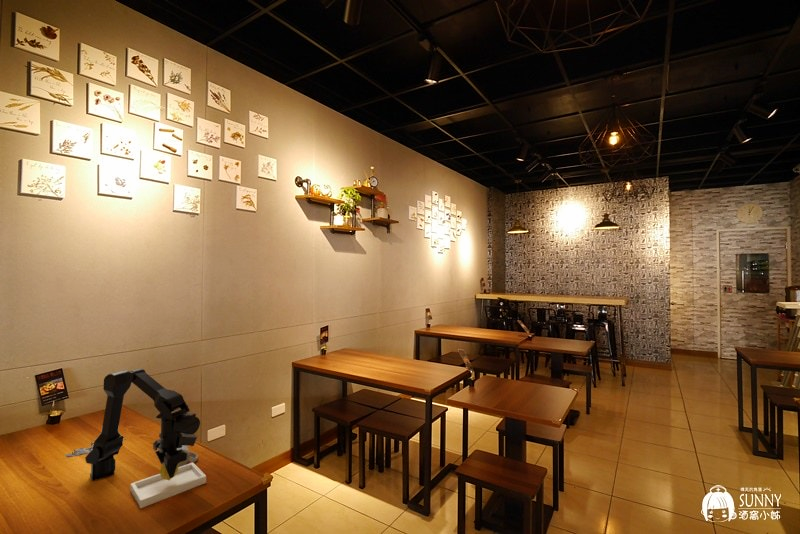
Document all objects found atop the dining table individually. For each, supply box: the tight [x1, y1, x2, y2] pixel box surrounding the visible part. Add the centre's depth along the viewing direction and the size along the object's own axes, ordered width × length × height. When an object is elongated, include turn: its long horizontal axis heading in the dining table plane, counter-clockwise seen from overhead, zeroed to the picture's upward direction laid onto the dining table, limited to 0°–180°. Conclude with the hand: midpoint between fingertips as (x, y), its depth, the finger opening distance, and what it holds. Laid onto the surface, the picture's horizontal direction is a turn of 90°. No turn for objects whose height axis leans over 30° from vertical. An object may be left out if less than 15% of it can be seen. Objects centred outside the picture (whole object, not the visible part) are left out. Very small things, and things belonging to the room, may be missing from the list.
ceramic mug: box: [177, 445, 199, 467], centre depth 146 cm, size 11×8×8 cm
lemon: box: [159, 463, 178, 480], centre depth 130 cm, size 6×6×8 cm
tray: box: [130, 462, 207, 509], centre depth 130 cm, size 20×14×2 cm
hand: (169, 474), depth 130 cm, fingers open, 6 cm apart
